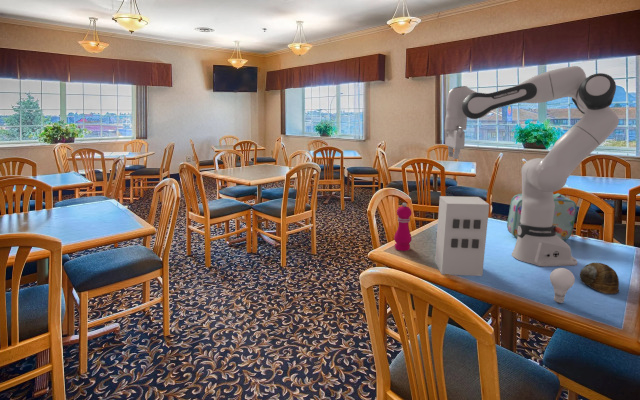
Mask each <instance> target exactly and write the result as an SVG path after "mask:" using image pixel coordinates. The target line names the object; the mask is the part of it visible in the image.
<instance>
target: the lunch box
mask: <svg viewBox="0 0 640 400" xmlns="http://www.w3.org/2000/svg"><path fill="white" fill-rule="evenodd" d="M553 198H554V203H555V210H554V217H553V224H552V225H554V226H556V227H559V228H561V229H562V232H561V233H560V234H559V233H557V232H556V235H557V236H558V237H560V238H561V239H562V240H563V241H564V242H565V241H567V240H568V239H570V237H571V236H572V234H573V232H574V231H573V230H574V224H575V220H576V213H577V203H576V202H575V201H574V200H572V199H570V198H569V197H567V196H565V195H564V194H561V193H559V192H557V193H555V194H554V193H553ZM521 210H522V193H518V194H515V195H514V196H513V197H512V198H511V200H510V205H509V210H508V211H509V212H508V216H507V217H508V218H507V223H506V228H507V231H508V233H510V234H511V235H512V236H513V237H514V238H515V239H517V237H518V235H517V234H518V232H517V231H518V225H519V221H520V219H521Z"/></svg>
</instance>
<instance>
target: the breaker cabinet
mask: <svg viewBox="0 0 640 400" xmlns="http://www.w3.org/2000/svg"><path fill="white" fill-rule="evenodd" d="M438 203H439V205H438V216H437V218H438V219H437V231H436V232H437V238H436V244H435V245H436V246H435V259H434V263H435V264H436V266H437V269H438V270H439V272H440V274H441V275H445V274H449V275H450V276H472V277H474V276H476V277H482V276H483V272H484V271H483V270H484V264H485V263H484V262H485V261H484V260H485V253H486V250H485V249H486V243H487V242H486V241H487V232H488V231H487V230H488V224H489V223H488V221H489V214H490V213H489V212H490V204H489V203H488V202H487V201H485V200H484V199H482V198H481V197H479V196H452V195H451V196H449V195H448V196H447V195H445V196H444V195H442V196H441V195H439V202H438Z"/></svg>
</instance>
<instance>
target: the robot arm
mask: <svg viewBox="0 0 640 400" xmlns="http://www.w3.org/2000/svg"><path fill="white" fill-rule="evenodd" d="M616 90H617V84H616V81H615V79H614V78H613V77H612V76H611V75H609V74H607V73H600V72H599V73H598V72H597V73H593V74H591V75H589V76H586V72H585V71H584V69H583V68H582V67H580V66H576V65H574V66H573V65H572V66H566V67H560V68H556V69H553V70H548V71H545V72H542V73H539V74H537V75H534V76H532V77H531V78H527V80H525V81H522V82H520V83H519V84H516V85H514V86H512V87H508V88H504V89H500V90H498V91H497V90H496V91H493V92H489V93H486V92H477V91H475V90H473V89H471V88H470V87H468V86H467V85H461V86H456V87H453V88H451V89H450V90H449V91H448V93H447V97H446V107H445V109H446V114H445V118H444V120H445V121H444V125H443V129H444V144H445V146H447V150H448V155H447V156H448V157H450V158H451V157H453V160H459V155H460V153H461V150H463V149H464V147H465V140H466V139H465V138H466V134H465V131H467V124H468V123H467V122H468V119H470V120H471V119H472V120H479V119H481V118H484V117H486V116H487V115H489V114H490V112H492V111H494V110H495V109H499V108H500V109H501V108H503V107H507V106H511V105H514V104H522V103H523V104H540V103H547V102H550V101H551V102H552V101H555V100H559V99H563V98H571V101H572V102H573V103H574V105H575V106H576V108H577V110H578V111H579V112H580V113H581V114H583V115H582V116H581V118H580V119H579V120H578V121H577V122H576V123H575V124H574V125H573V126H571V128H569V129H568V130H567V131H566V132H565V133H564V134H563V135H561V137H560V138H558V139H557V140H556V141H555V142H554V145H553V146H552V147H551V149H550V150H549V152H547V154H546V156H545V157H543V158H541V157H537V158H531V159H529V160H527V161H526V162H524V164H523V165H522V167H521V170H520V171H521V194H522V210H521V219H520V221H519V225H518V231H517V232H518V234H517V235H518V237H517V238H516V242H515V245H514V248H513V250H512V252H511V257H513V258H514V259H515V260H516V259H517V260H518V261H521V262H524V263H529V264H533V265H536V266H539V267H542V268H543V267H567V266H578V260H577V259H576V258H575V257H574V256H573V255H572V250H571V246H570V245H569V244H568V243H567V242H565V240H564V241H563V240H562V239H561V238H560V237H558V236H557V235H556V232H557V233H559V234H560V233H561V232H562V229H561V228H559V227H556V226H554V225H552V224H553V217H554V210H555V203H554V198H553V194H554V192H557V191H560V190H562V189H563V188H564V186H565V185H566V183H567V181H568V178H569V177H570V176H571V174H572V173H573V172H574V171H575V169H576V168H578V166H579V164H580V163H581V162H583V160H585V159H586V158H587V157H588V156H589V155H590V154H591V153H592V152H594V151H595V150H596V149H597V148H598V147H599V146H601V145H602V144H603V143H604V142H605V141H606V140H607V139H608V138H609V136H611V135H612V133H613V132H614V130H615V129H616V128H617V127H618V125H619V123H620V119H619V116H618V114H617V113H616V112H615V111H613V110H612V109H611V108H610V106H611V105H612V104H613V101H614V98H615V94H616Z"/></svg>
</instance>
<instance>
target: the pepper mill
mask: <svg viewBox="0 0 640 400" xmlns="http://www.w3.org/2000/svg"><path fill="white" fill-rule="evenodd" d="M401 205H402V206H399V207H398V208H397V210H396V215H397V222H398V226H397V230H396V231H395V234H394V237H393V240H394V242H395V244H394V248H395V250H397V251H400V252H402V251H403V252H408V251H410V249H411V245H410V244H411V242H412V235H411V232H410V229H409V223H410V222H411V220H410V219H411V218H410V217H411V216H412V209H411V208H410V207H409V206H407V205H408V204H407V203H406V202H403V203H402V204H401Z"/></svg>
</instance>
